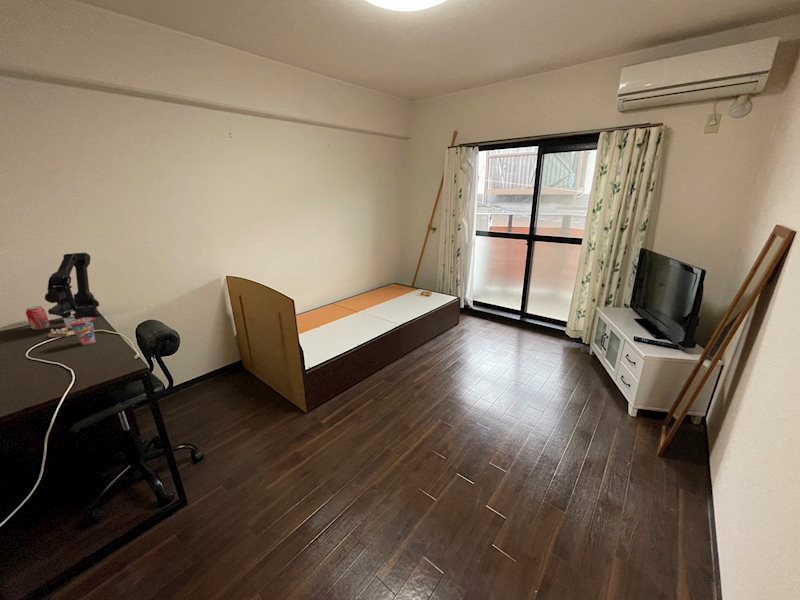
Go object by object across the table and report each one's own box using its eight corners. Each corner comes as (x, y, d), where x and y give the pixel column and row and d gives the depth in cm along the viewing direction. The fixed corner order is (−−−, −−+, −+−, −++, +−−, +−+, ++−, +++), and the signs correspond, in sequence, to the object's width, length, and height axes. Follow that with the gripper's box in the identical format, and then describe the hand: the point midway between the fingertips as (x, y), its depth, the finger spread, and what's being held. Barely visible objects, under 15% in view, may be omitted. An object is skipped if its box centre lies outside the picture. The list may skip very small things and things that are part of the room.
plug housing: (76, 324, 184) (73, 314, 182) (84, 324, 184) (81, 314, 182) (66, 328, 178) (62, 317, 176) (74, 328, 178) (71, 317, 176)
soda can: (36, 327, 181) (28, 306, 178) (53, 324, 184) (45, 305, 181) (29, 331, 175) (21, 310, 172) (46, 328, 178) (38, 308, 175)
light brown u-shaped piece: (66, 330, 175) (63, 323, 174) (83, 329, 176) (81, 323, 174) (48, 337, 166) (45, 330, 165) (67, 336, 167) (64, 329, 165)
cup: (78, 348, 153) (70, 324, 149) (75, 343, 158) (67, 321, 154) (104, 341, 160) (96, 318, 156) (99, 337, 165) (92, 315, 161)
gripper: (33, 302, 168) (43, 330, 173) (69, 301, 169) (78, 329, 173) (54, 296, 179) (63, 322, 183) (88, 295, 179) (96, 321, 184)
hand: (75, 324), depth 181 cm, fingers open, 5 cm apart
